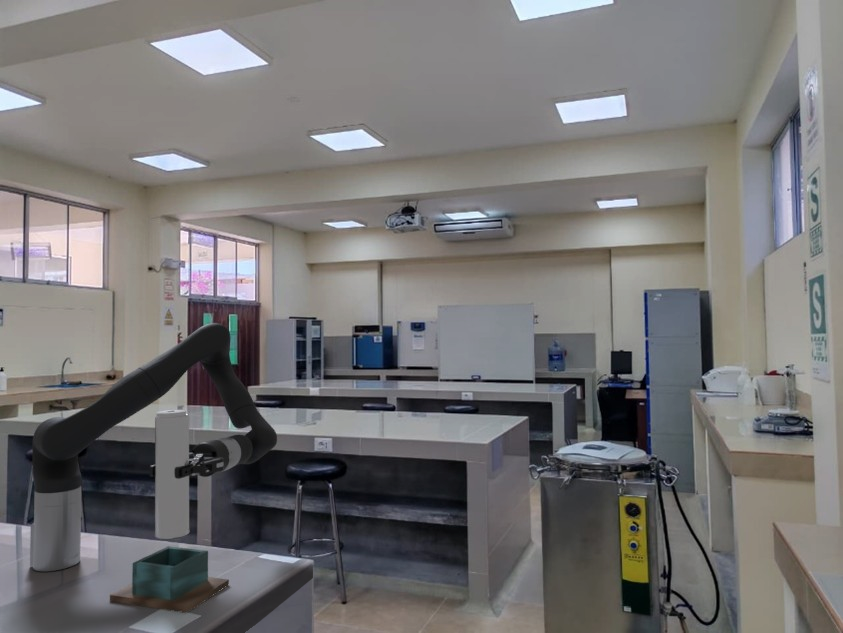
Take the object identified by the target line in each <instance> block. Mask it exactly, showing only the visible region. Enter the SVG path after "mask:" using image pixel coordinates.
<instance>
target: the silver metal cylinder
mask: <svg viewBox="0 0 843 633" xmlns="http://www.w3.org/2000/svg"><path fill="white" fill-rule="evenodd" d="M155 413H156V416H155V418H154V465H155V477H154V492H155V493H154V504H155V505H154V518H155V519H154V527H155V528H154V531H155V532H154V537H155V538H156V539H158V540H175V539H180V538H182V537H186V536H187V535H188V534H189V533H190V475H189V476H186V477H183V478H180V479H177V478H176V477H175V470H176V468H177V467H180V466H185V465H188V464H189V453H190V415H189V414H188V413H187V411H186V410H185V409H169V410H160V411H156V412H155Z"/></svg>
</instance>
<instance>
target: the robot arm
mask: <svg viewBox="0 0 843 633" xmlns="http://www.w3.org/2000/svg"><path fill="white" fill-rule="evenodd" d="M230 350H231V333H230V330H229V328H228V327H227V326H225V325H224V324H223V323H218V322H211V323H207V324H204V325H202V326H200V327H198V328H197V329H196V330H194V331H193V332H192V333H191V334H189V335H188V336H187V337H185V338H184V339H182V340H181V341H180V342H179V343H177V344H176V345H175V346H173V347H172V348H170V349H168V350H166V351H164V352H163V353H161V354H160V355H158V356H156V357H155V358H153V359H152V360H150V361H149V362H147V363H145V364H143V365H141V366H139V367H137V368H136V369H135V370H132V371H130V373H128V374H126V375H125V376H122V377H121V378H120V379H119V380H117V381H116V382H115V383H114V384H113V385H112V386H111V387H109V389H107V390H106V392H105V393H103V395H101V396H100V397H99V398H98V399H97V400H95V402H93V403H91V404H90V405H88V406H87V407H85V408H83V409H81V410H80V411H77V412H75V413H73V414H72V415H68V416H67V417H61V416H59V417H58V416H57V417H54V416H53V417H51V418H48V419H46V420H45V419H44V421H42V422H40V424H39V425H38V426H37V427H36V429H35V430H34V433H33V437H32V478H33V482H34V483H33V484H34V501H33V503H34V509H33V510H34V511H33V512H34V513H33V515H34V516H33V523H31V525H30V538H29V539H30V543H29V545H30V546H29V547H30V548H29V549H30V550H29V567H31V568H32V570H34V571H37V572H54V571H60V570H64V569H67V568H71V567H73V566H76V565H77V564H79V563H80V562H81V543H82V542H81V539H82V538H81V534H82V532H81V531H82V477H83V476H82V473H81V470H80V466H79V456H78V455H79V454H80V453H81V452H82V451H83V450H85V449H86V448H87V447H89V446H90V445H91V444H92V443H93V442H95V441H96V440H97V439H99V438H100V437H102V436H103V435H104V434H105V433H106V432H108V431H109V430H110V429H112V428H113V427H115V426H116V425H118V424H120V423H122V422H124V421H126V420H127V419H129V418H130V417H132V416H134V415H135V414H137V413H139V412H140V411H141V410H143V409H145V408H147V407H148V406H150V405H151V404H153V403H154V402H156V401H158V400H159V399H162V397H163V396H165V395H166V394H167V393H168V392H169V391H170V390H171V389H172V388H173V387H174V386H175V385H176V384H177V382H179V381H180V379H181V378H182V377H183V376H184V375H185V373H186V372H188V371H189V369H191V368H192V367H193V366H194V365H196V364H197V363H200V364H201V366H202V367H203V369H204V370H205V371H206V373H207V374H208V376H209V378H210V379H211V381H212V383H213V384H214V386H215V388H216V390H217V393H218V394H219V397H220V400H221V401H222V403H223V406H224V409H225V411H226V413H227V415H228V418H229V420H230V422H231V424H232V426H233V427H234V428H235V429H245V428H248V427H250V428H251V430H249V432H247V433H246V434H233V435H231V436H227V437H217V438H215V439H212V440H211V439H210V440H208V441H203V442H201V443H198V444H196V445H195V446H194V447H193V448H192V450H191V452H189V464H188V465H185V466H180V467H177V468H176V470H175V477H176V478H177V479H180V478H183V477H186V476H189V477H190V476H193V477H194V476H197V475H198V476H199V477H203V478H207V477H211V476H214V475H217V474H220V473H223V472H225V471H228V470H230V469H232V468H233V467H236V466H238V465H239V466H240V465H251V464H254V463H255V462H257V461H260V459H261V458H262V457H263V456H264V455H265V456H266V454H267V453H269V452H271V450H272V449H274V448H275V446H276V445H277V443H278V435H277V432H276V430H275V429H274V428H273V427H272V426H271V424H270V423H269V422H268V421H267V420H266V419H265V418H264V416H263V415H262V414H261V413H260V412H259V410H258V409H257V406H256V404H255V402H254V400H253V398H252V396H251V394H250V392H249V390H248V389H247V387H246V385H244V384H243V382H242V381H241V380H240V379H239V377H238V375H237V374H236V373H235V371H234V368H233V365H232V362H231V357H230ZM149 477H151V478H153V477H154V478H155V464H153V465H152V464H151V465H150V466H149Z"/></svg>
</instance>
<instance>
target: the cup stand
mask: <svg viewBox="0 0 843 633" xmlns="http://www.w3.org/2000/svg"><path fill="white" fill-rule="evenodd" d="M131 572H132V577H131V578H132V580H131V581H132V582H131V583H130V584H128V585H126V586H124V587H123V588H120V589H119V590H116V591H114V592H113V593H110V594H109V602H113V603H121V604H125V605H132V606H141V607H146V608H151V609H152V608H153V609H159V610H165V609H166V611H171V610H174V612H178V611H182V612H181V613H184V612H187V613H188V611H189V610H190V611H192V610H193V609H195V608H197V607H198V606H200V605H201V604H202V602H203V601H204V600H206V599H207V598H209V597H210V596H212V595H213V594H215V593H216V594H218V593H219V592H220V591H219V590H221V589H222V588H224V587H225V586H227V585H228V584H229V583H230V579H227V578H221V577H220V578H219V577H212V576H209V550H204V549H203V550H202V549H195V548H184V547H180V546H178V547H177V546H166V547H164V548H161V549H160V550H158V551H155V552H153V553H152V554H149V555H146V556H144V557H142V558H140V559H138V560H136V561H134V562H132V571H131ZM229 585H230V584H229ZM227 587H228V586H227ZM224 589H225V588H224ZM222 590H223V589H222ZM222 590H221V591H222ZM218 591H219V592H218ZM217 592H218V593H217ZM216 594H215V595H216ZM213 596H214V595H213ZM213 596H212V597H213ZM210 598H211V597H210ZM210 598H209V599H210ZM207 600H208V599H207ZM207 600H206V601H207ZM204 602H205V601H204ZM204 602H203V603H204ZM200 603H201V604H200ZM197 605H198V606H197ZM194 607H195V608H194ZM191 609H192V610H191ZM190 611H189V612H190Z"/></svg>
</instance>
